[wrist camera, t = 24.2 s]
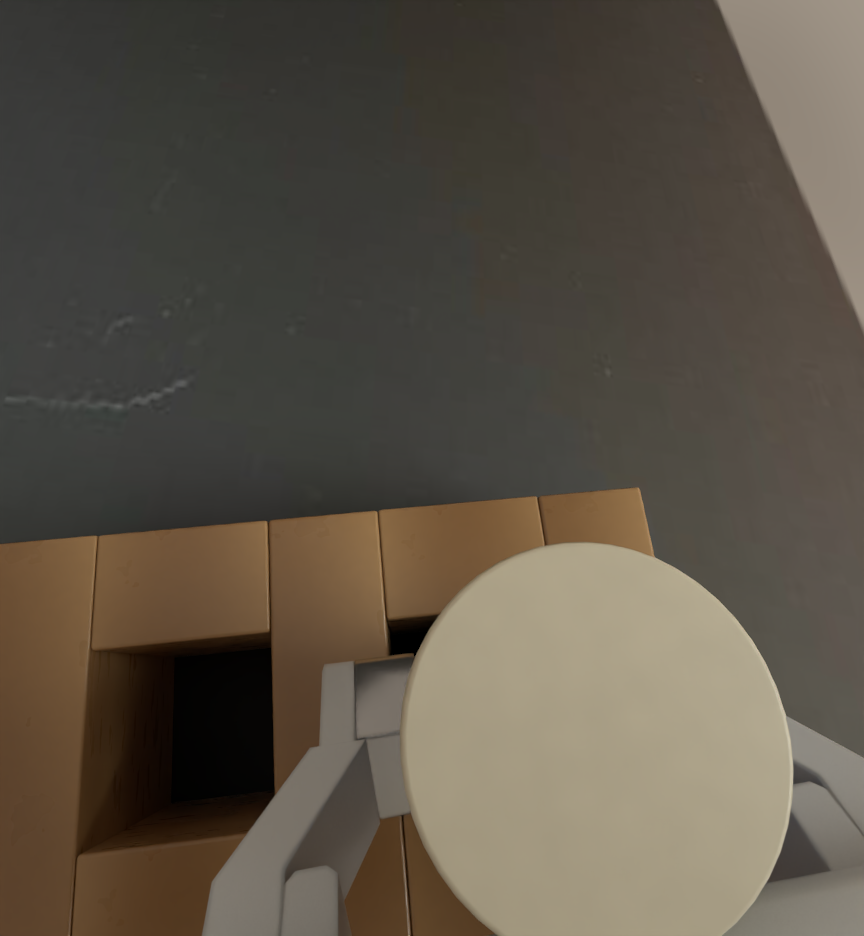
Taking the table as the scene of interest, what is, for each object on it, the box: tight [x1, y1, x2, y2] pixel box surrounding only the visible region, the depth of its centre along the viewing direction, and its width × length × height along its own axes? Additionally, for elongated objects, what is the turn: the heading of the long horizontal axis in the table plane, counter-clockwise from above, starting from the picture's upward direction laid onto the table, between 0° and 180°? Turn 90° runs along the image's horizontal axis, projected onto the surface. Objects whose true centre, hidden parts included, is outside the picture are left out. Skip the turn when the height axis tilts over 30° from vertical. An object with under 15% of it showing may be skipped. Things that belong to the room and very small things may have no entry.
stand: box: [0, 487, 655, 936], centre depth 14 cm, size 14×14×5 cm
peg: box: [400, 542, 793, 936], centre depth 10 cm, size 3×3×11 cm
